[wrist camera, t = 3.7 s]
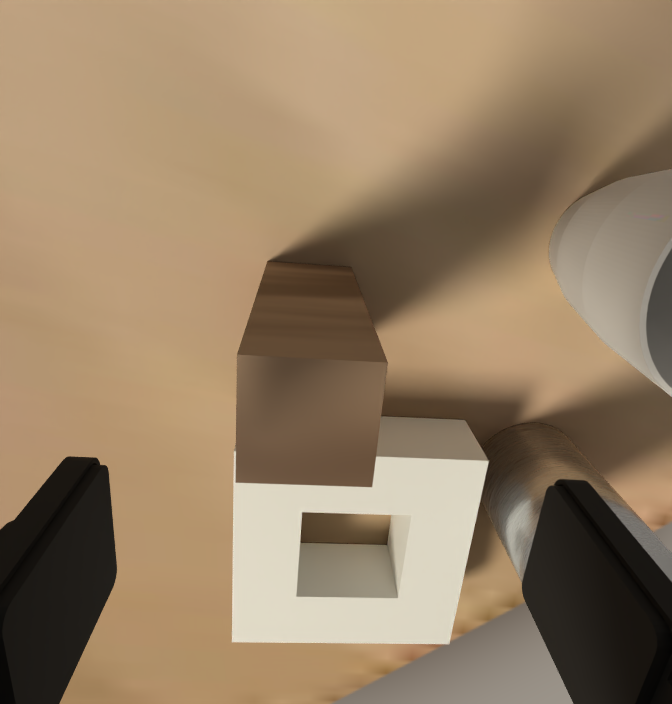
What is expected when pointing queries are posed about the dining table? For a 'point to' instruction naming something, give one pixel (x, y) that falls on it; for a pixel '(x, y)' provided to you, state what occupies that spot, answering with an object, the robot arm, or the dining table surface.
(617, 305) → the cup
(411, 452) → the bore block
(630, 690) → the robot arm
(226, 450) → the dining table surface
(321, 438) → the walnut peg
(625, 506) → the grey cylinder
